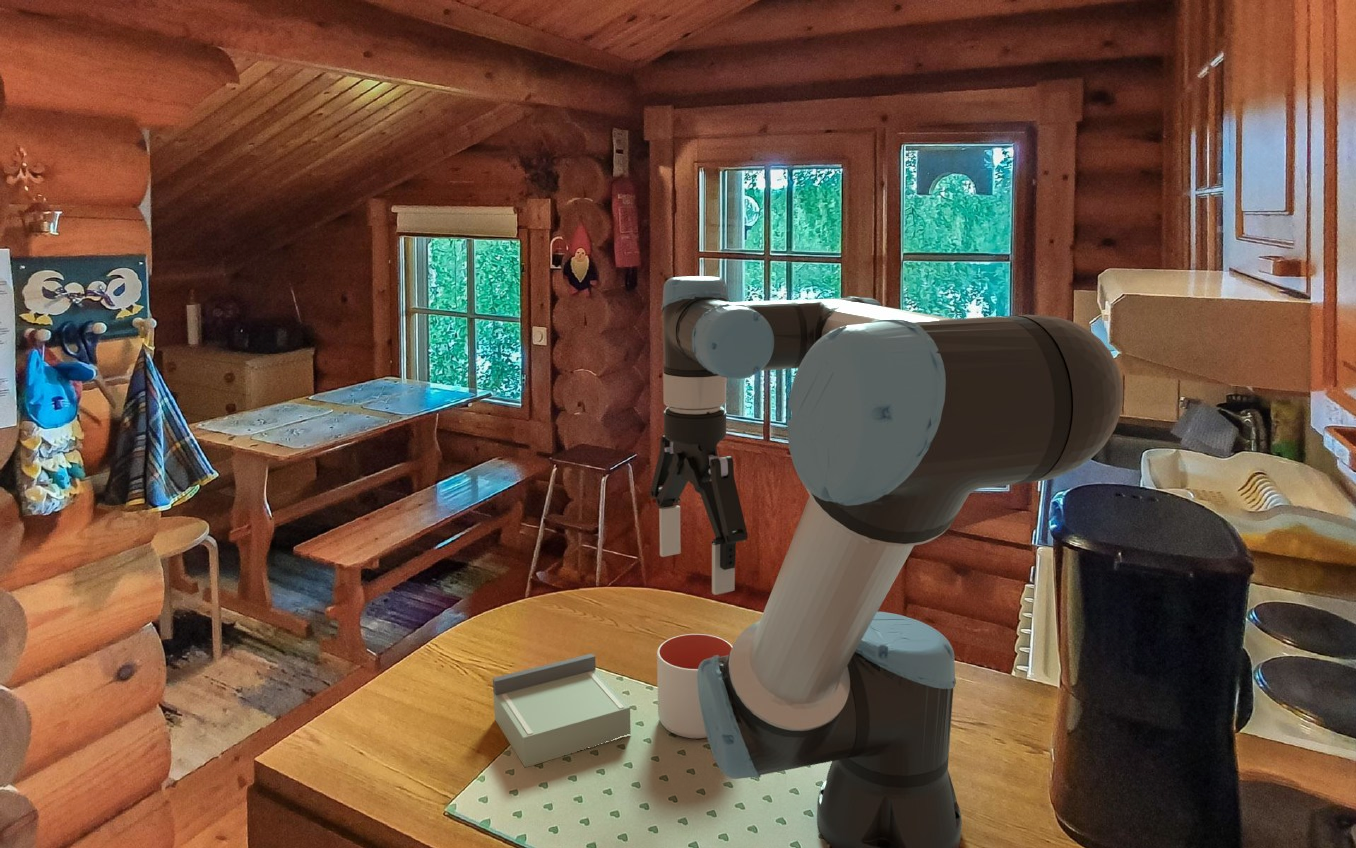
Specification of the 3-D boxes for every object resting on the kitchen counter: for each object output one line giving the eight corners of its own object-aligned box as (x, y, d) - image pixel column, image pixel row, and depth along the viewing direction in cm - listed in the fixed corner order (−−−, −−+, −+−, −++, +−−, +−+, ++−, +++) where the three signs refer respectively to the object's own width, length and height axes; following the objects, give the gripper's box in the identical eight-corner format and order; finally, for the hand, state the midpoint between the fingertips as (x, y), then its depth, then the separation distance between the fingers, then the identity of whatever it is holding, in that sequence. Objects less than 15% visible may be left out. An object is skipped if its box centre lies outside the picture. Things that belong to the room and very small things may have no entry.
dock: (630, 735, 115) (629, 693, 114) (524, 767, 109) (522, 722, 107) (593, 693, 126) (592, 653, 124) (495, 719, 119) (492, 678, 118)
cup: (728, 747, 113) (729, 673, 110) (650, 738, 115) (649, 666, 112) (739, 705, 122) (739, 636, 120) (666, 698, 124) (666, 630, 122)
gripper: (780, 424, 100) (776, 603, 105) (674, 386, 121) (675, 536, 126) (721, 432, 97) (720, 616, 101) (623, 391, 118) (626, 545, 123)
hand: (695, 572), depth 114 cm, fingers open, 13 cm apart
